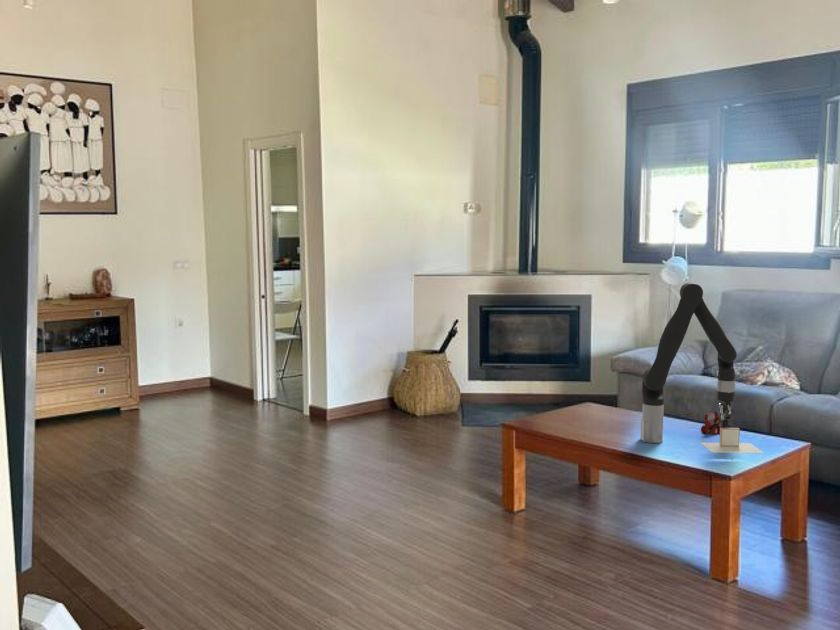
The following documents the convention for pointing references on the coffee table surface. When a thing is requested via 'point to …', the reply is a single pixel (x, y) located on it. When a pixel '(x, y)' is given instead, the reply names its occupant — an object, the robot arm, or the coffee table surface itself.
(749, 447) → the stone board
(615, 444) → the coffee table surface
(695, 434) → the coffee table surface
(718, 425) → the red wheeled toy
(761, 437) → the coffee table surface
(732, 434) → the tile
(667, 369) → the robot arm
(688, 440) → the coffee table surface
